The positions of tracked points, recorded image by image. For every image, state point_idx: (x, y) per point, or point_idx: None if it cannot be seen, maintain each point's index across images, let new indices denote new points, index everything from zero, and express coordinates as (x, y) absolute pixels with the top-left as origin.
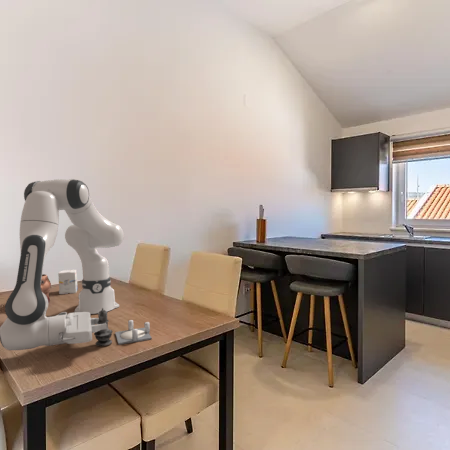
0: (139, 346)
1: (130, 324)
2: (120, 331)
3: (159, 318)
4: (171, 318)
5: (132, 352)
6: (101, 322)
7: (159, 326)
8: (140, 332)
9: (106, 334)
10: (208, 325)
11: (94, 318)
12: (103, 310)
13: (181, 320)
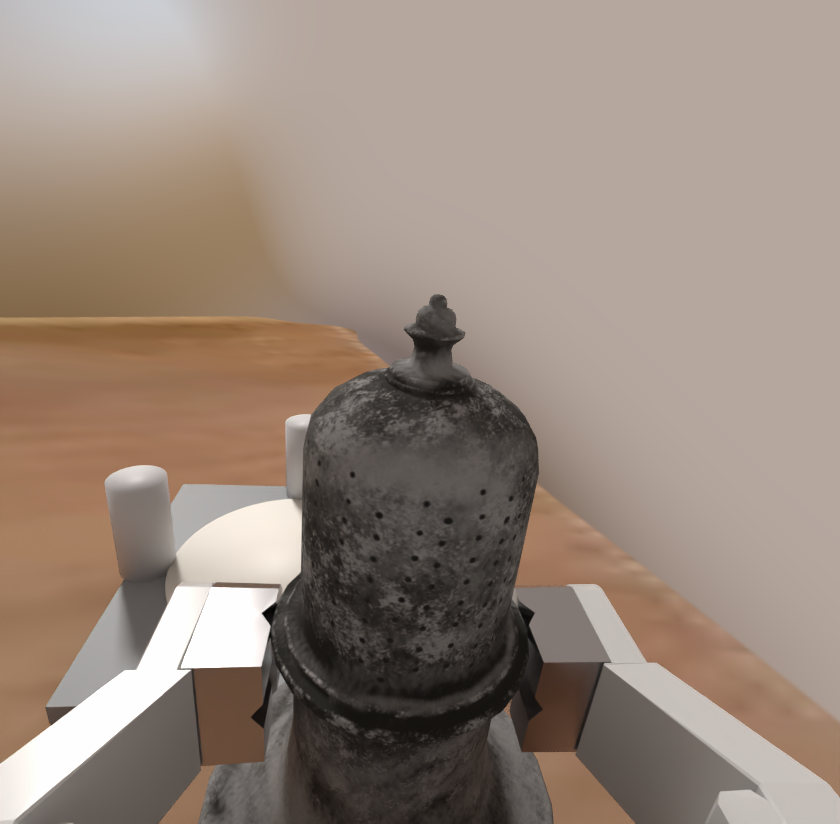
0: (541, 568)
1: (164, 511)
2: (88, 649)
3: (41, 423)
4: (117, 396)
5: (663, 618)
6: (509, 641)
7: (205, 444)
8: (288, 517)
9: (512, 737)
10: (347, 358)
11: (17, 817)
12: (452, 363)
13: (199, 383)
